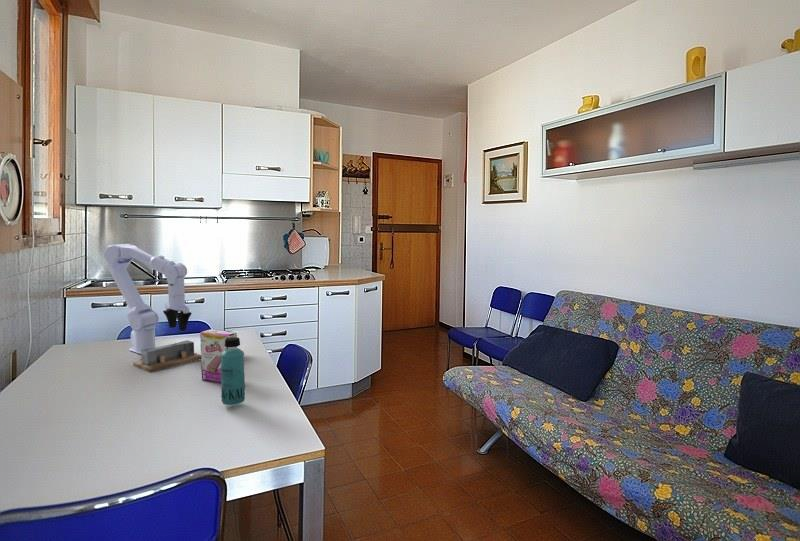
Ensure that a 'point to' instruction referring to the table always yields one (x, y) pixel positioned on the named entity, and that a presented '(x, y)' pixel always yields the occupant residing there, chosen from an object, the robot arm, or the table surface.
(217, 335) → the candy bar box
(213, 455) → the table surface
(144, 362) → the gray notched long block
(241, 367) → the beverage bottle
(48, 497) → the table surface
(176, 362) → the peg rack
